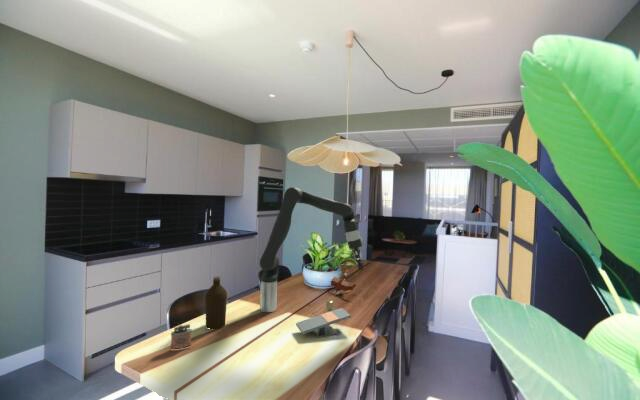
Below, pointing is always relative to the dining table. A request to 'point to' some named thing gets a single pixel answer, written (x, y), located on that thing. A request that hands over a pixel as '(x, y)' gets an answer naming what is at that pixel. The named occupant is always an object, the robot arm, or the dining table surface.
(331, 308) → the ball
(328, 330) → the pivot stand
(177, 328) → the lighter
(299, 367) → the dining table surface
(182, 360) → the dining table surface
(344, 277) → the decorative bird
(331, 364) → the dining table surface
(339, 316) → the seesaw board
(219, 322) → the olive oil
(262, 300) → the robot arm
